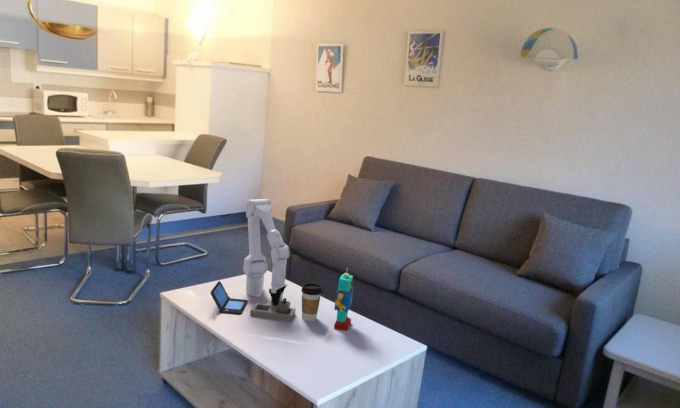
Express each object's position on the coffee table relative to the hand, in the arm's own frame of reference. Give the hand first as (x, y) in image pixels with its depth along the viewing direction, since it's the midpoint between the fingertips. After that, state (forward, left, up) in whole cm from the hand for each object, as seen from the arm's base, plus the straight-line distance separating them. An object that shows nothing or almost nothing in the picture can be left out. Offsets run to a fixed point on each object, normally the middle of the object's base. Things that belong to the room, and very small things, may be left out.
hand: (276, 303), depth 226 cm
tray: (0, 0, -2) cm, 2 cm away
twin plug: (+9, +5, -1) cm, 11 cm away
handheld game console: (+7, -19, -2) cm, 20 cm away
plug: (0, 0, -1) cm, 1 cm away
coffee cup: (+7, +16, -2) cm, 18 cm away
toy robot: (+8, +30, -2) cm, 31 cm away
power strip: (+9, +1, -2) cm, 9 cm away
